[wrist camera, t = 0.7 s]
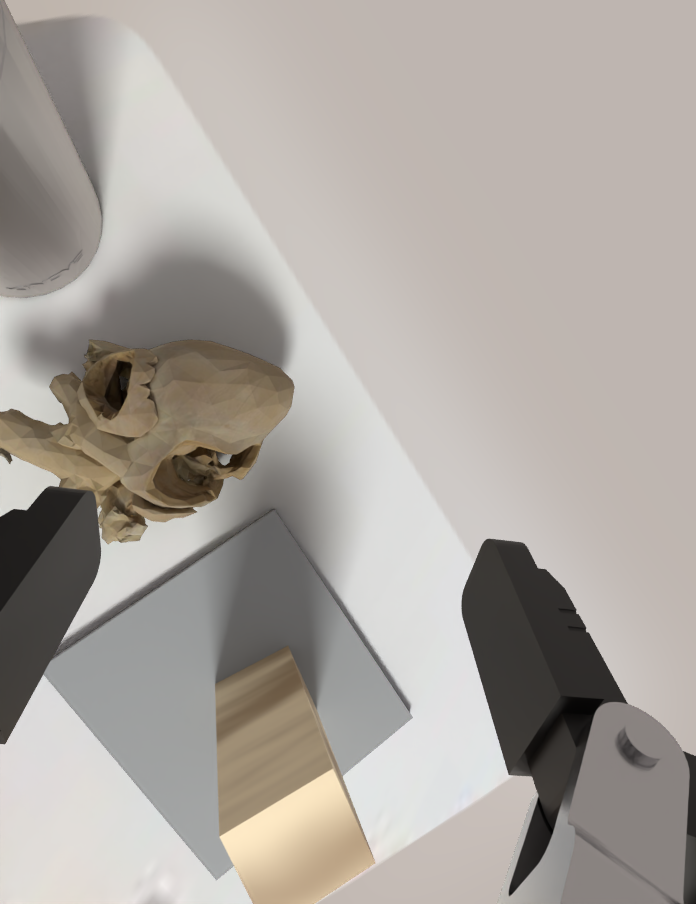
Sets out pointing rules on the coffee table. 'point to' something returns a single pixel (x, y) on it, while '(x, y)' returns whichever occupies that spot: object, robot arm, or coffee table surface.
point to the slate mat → (220, 673)
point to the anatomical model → (153, 428)
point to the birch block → (282, 788)
